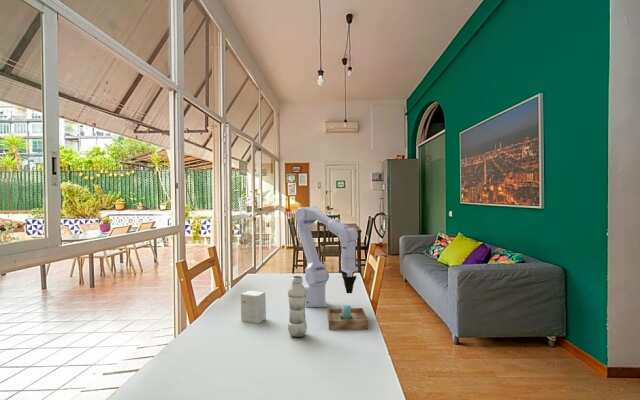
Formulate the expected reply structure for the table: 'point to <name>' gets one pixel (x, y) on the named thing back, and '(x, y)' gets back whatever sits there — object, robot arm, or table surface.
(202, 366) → the table surface
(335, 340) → the table surface
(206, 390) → the table surface
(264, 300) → the small box
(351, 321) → the crate
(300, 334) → the plastic bottle
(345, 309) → the peg
